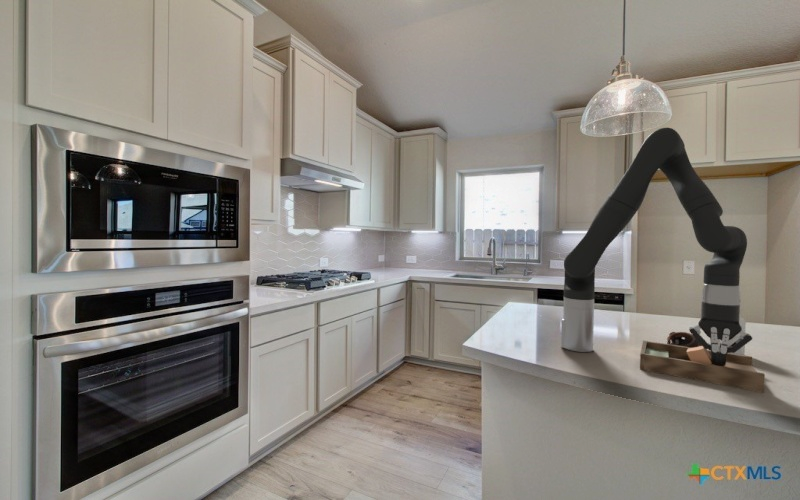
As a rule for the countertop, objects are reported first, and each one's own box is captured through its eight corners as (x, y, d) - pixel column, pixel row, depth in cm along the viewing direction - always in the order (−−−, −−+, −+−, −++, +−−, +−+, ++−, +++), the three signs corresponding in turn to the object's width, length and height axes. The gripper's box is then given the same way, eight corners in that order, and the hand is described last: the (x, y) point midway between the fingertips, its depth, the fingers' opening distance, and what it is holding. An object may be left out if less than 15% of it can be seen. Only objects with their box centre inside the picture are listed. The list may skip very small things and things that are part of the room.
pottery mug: (714, 361, 109) (707, 340, 107) (682, 373, 111) (675, 352, 108) (685, 340, 120) (679, 321, 118) (657, 351, 122) (650, 332, 120)
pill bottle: (704, 349, 119) (706, 305, 118) (726, 349, 119) (728, 305, 119) (728, 357, 111) (730, 310, 110) (751, 357, 111) (753, 309, 111)
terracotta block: (693, 366, 96) (686, 351, 97) (695, 362, 99) (687, 348, 100) (711, 363, 94) (703, 348, 95) (712, 360, 97) (705, 345, 98)
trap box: (639, 369, 101) (640, 353, 101) (642, 354, 114) (643, 340, 114) (763, 392, 86) (764, 374, 86) (751, 372, 99) (751, 356, 99)
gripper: (752, 302, 93) (749, 367, 93) (687, 296, 100) (685, 357, 101) (758, 306, 87) (755, 376, 87) (688, 300, 94) (686, 364, 95)
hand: (718, 365), depth 94 cm, fingers closed
